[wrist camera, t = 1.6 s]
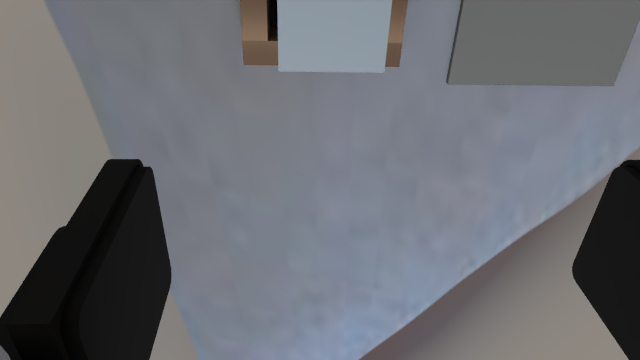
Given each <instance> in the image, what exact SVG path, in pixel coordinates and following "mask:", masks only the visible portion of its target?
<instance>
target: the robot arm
mask: <svg viewBox="0 0 640 360" xmlns="http://www.w3.org/2000/svg"><path fill="white" fill-rule="evenodd" d="M572 271H573V277H574V279H575V281H576V283H577V284H578V286H579V287H580V289H581V290H582V292H583V293H584V294H585V296H586V297H587V299H588V300H589V302H590V303H591V305H592V306H593V308H594V309H595V310H596V312H597V313H598V315H599V316H600V318H601V319H602V321H603V322H604V324H605V325H606V327H607V328H608V330H609V331H610V333H611V334H612V335H613V337H614V338H615V340H616V341H617V343H618V344H619V346H620V347H621V348H622V350H623V351H624V353H625V355H626V356H627V357H628V359H629V360H640V160H627V161H624V162H623V163H622V164H621V165H620V167H617V168H615V169H614V170H613V172H612V173H611V176H610V178H609V180H608V183H607V185H606V188H605V190H604V192H603V194H602V197H601V199H600V201H599V204H598V206H597V208H596V211H595V213H594V216H593V218H592V220H591V223H590V225H589V227H588V230H587V232H586V234H585V237H584V239H583V241H582V244H581V246H580V248H579V251H578V253H577V256H576V258H575V260H574V263H573V267H572ZM170 284H171V266H170V260H169V255H168V249H167V244H166V239H165V233H164V228H163V222H162V217H161V212H160V206H159V201H158V196H157V190H156V185H155V179H154V174H153V170H152V168H151V167H143V164H142V162H141V161H140V160H139V159H110V160H107V162H106V163H105V164H104V166H103V168H102V169H101V171H100V172H99V174H98V176H97V177H96V179H95V181H94V182H93V184H92V185H91V187H90V188H89V190H88V192H87V193H86V195H85V197H84V198H83V200H82V201H81V203H80V205H79V206H78V208H77V209H76V211H75V213H74V214H73V216H72V217H71V219H70V221H69V222H68V224H67V225H66V226H63V227H61V228H59V229H58V230H57V231H56V232H55V233H54V235H53V236H52V238H51V239H50V241H49V242H48V244H47V246H46V247H45V249H44V250H43V252H42V253H41V255H40V256H39V258H38V260H37V261H36V263H35V264H34V266H33V268H32V269H31V270H30V272H29V274H28V275H27V277H26V278H25V280H24V281H23V283H22V285H21V286H20V288H19V289H18V291H17V292H16V294H15V295H14V297H13V298H12V300H11V302H10V303H9V305H8V306H7V308H6V309H5V311H4V312H3V314H2V316H1V317H0V360H149V358H150V355H151V351H152V348H153V344H154V341H155V337H156V334H157V330H158V327H159V323H160V320H161V316H162V313H163V309H164V306H165V302H166V299H167V295H168V292H169V289H170Z"/></svg>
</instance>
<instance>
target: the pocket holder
mask: <svg viewBox="0 0 640 360" xmlns="http://www.w3.org/2000/svg"><path fill="white" fill-rule="evenodd" d="M407 1H408V0H392V7H391V16H390V25H389V34H388V44H387V53H386V62H385V67H399V63H400V56H401V48H402V40H403V32H404V24H405V16H406V9H407ZM240 9H241V26H242V43H243V60H244V65H278V26H270V22H269V0H240Z"/></svg>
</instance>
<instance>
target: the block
mask: <svg viewBox="0 0 640 360" xmlns="http://www.w3.org/2000/svg"><path fill="white" fill-rule="evenodd" d="M391 7H392V0H277V14H278V71H293V72H378V73H384V71H385V62H386V53H387V44H388V34H389V25H390V16H391Z"/></svg>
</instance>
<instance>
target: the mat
mask: <svg viewBox="0 0 640 360" xmlns="http://www.w3.org/2000/svg"><path fill="white" fill-rule="evenodd" d="M639 20H640V0H462V1H461V7H460V12H459V17H458V23H457V28H456V33H455V39H454V44H453V49H452V55H451V60H450V65H449V71H448V76H447V81H446V82H447V84H456V85H549V86H614V83H615V81H616V78H617V76H618V73H619V71H620V68H621V66H622V63H623V61H624V58H625V55H626V53H627V50H628V48H629V45H630V43H631V40H632V38H633V35H634V33H635V30H636V28H637V25H638V22H639Z"/></svg>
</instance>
